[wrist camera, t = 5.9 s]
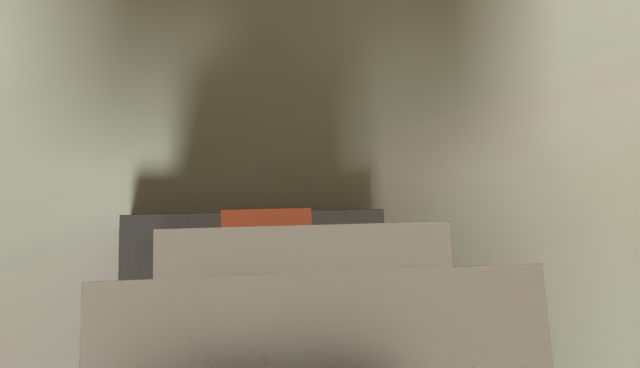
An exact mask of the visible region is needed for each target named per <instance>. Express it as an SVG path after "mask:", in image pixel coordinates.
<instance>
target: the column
mask: <svg viewBox="0 0 640 368" xmlns="http://www.w3.org/2000/svg"><path fill="white" fill-rule="evenodd" d="M79 368H553V360H552V351H551V342H550V333H549V324H548V315H547V307H546V298H545V289H544V280H543V271H542V264H520V265H495V266H470V267H454V266H453V255H452V243H451V231H450V221H444V222H406V223H369V224H331V225H293V226H256V227H218V228H181V229H153V279H146V280H121V281H96V282H82V303H81V333H80V363H79Z"/></svg>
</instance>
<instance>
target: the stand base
mask: <svg viewBox="0 0 640 368" xmlns="http://www.w3.org/2000/svg"><path fill="white" fill-rule="evenodd" d="M369 223H384V213H383V209H369V210H325V211H311V208H282V209H236V210H221V213H192V214H148V215H120V228H119V275H118V281H121V280H146V279H153V229H181V228H218V227H256V226H293V225H331V224H369Z"/></svg>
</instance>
